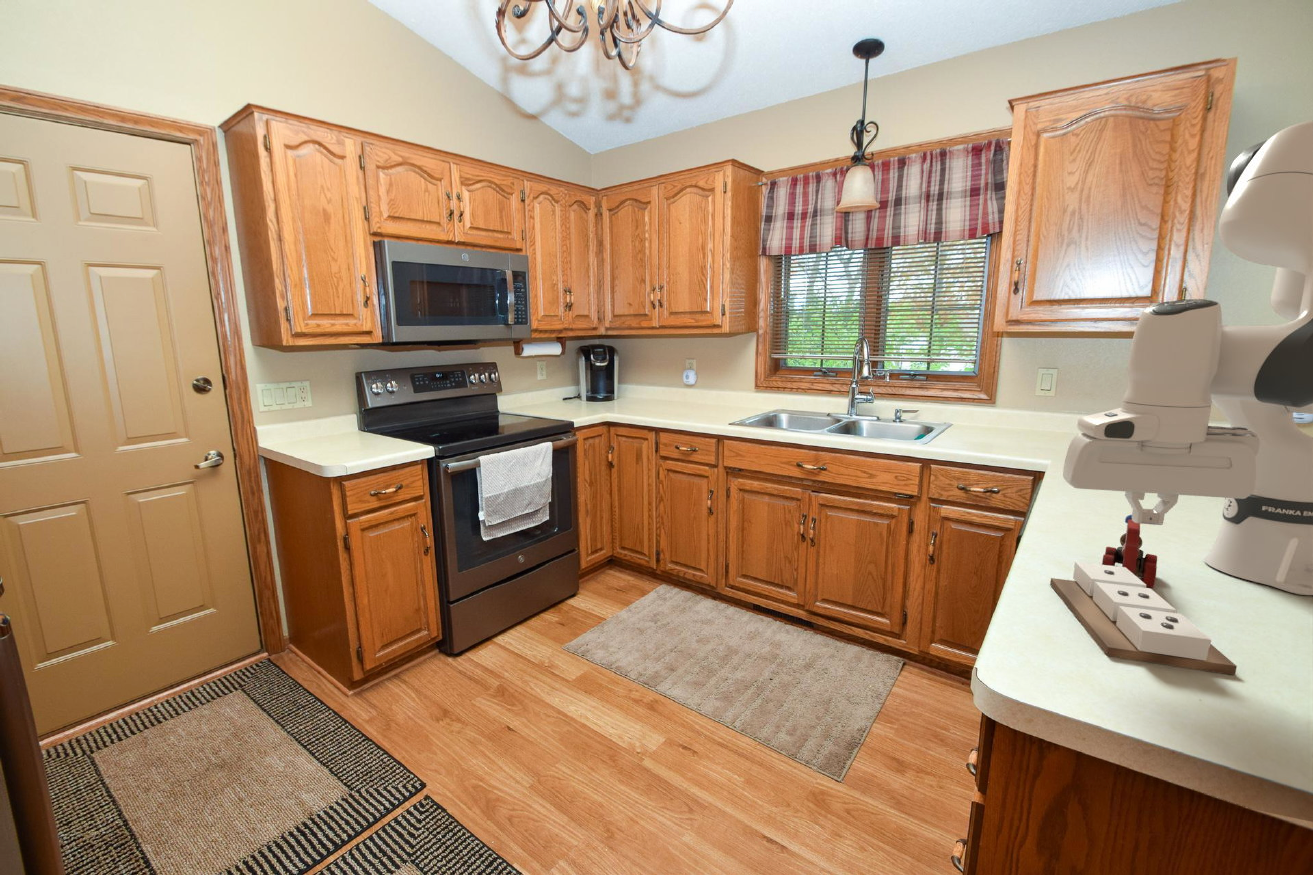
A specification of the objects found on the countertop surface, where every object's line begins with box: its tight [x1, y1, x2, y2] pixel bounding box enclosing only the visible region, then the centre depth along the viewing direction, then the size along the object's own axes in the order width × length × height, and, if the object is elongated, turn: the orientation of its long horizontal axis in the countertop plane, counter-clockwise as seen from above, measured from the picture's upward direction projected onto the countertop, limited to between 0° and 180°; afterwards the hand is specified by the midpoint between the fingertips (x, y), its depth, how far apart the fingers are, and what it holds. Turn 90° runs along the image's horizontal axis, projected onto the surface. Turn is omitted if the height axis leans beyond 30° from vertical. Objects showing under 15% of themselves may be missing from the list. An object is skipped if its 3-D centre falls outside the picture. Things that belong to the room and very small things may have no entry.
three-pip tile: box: [1116, 606, 1212, 661], centre depth 73 cm, size 7×7×3 cm
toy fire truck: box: [1101, 514, 1158, 590], centre depth 95 cm, size 7×12×10 cm, turn 139°
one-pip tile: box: [1072, 561, 1146, 596], centre depth 88 cm, size 7×7×3 cm
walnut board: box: [1049, 577, 1238, 676], centre depth 80 cm, size 13×22×3 cm, turn 161°
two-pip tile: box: [1093, 582, 1176, 621], centre depth 80 cm, size 7×7×3 cm
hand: (1146, 523), depth 78 cm, fingers closed
